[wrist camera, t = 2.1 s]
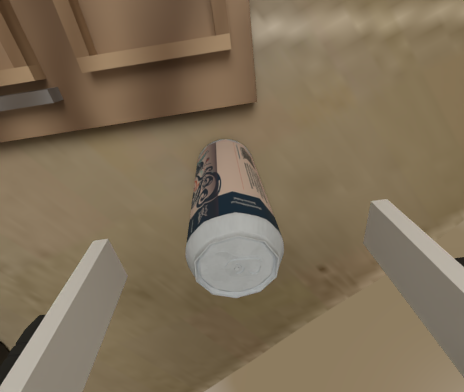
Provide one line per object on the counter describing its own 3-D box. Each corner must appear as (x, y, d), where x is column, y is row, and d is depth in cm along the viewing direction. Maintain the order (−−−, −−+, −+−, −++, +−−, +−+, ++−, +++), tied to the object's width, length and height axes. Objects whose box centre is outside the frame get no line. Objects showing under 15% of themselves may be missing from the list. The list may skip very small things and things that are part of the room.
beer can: (195, 137, 20) (177, 230, 10) (253, 136, 20) (295, 224, 10) (199, 189, 22) (188, 306, 12) (251, 187, 23) (283, 300, 12)
